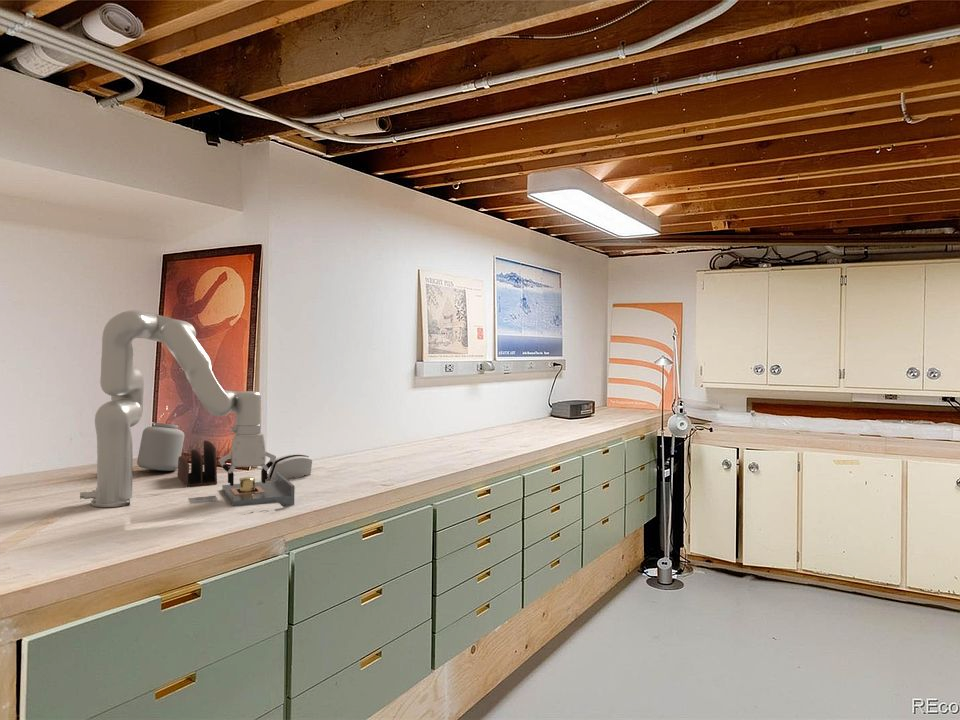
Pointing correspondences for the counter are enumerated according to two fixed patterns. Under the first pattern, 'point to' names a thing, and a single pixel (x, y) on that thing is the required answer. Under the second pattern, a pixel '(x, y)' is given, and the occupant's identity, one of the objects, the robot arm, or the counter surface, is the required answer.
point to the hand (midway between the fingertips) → (247, 483)
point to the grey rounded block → (291, 466)
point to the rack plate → (263, 492)
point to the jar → (160, 447)
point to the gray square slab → (203, 499)
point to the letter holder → (199, 467)
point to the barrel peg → (247, 484)
